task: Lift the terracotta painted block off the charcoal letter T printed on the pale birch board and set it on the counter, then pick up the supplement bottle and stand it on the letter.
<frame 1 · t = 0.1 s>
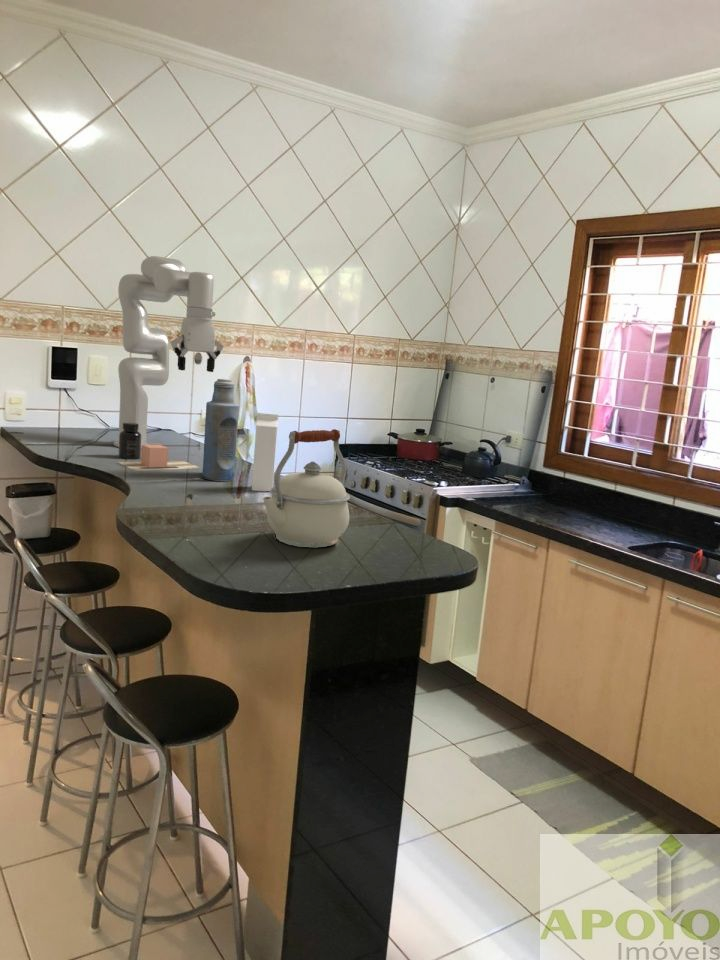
hand: (195, 370, 236), 31 cm above the table, tool pointing down, fingers open, 9 cm apart
milk: (262, 489, 223), on the table
kettle: (301, 542, 171), on the table
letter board: (159, 467, 240), on the table
terracotta block: (153, 465, 239), point 1 cm above the table, touching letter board
bottle: (218, 479, 232), on the table
supplement bottle: (129, 460, 248), on the table
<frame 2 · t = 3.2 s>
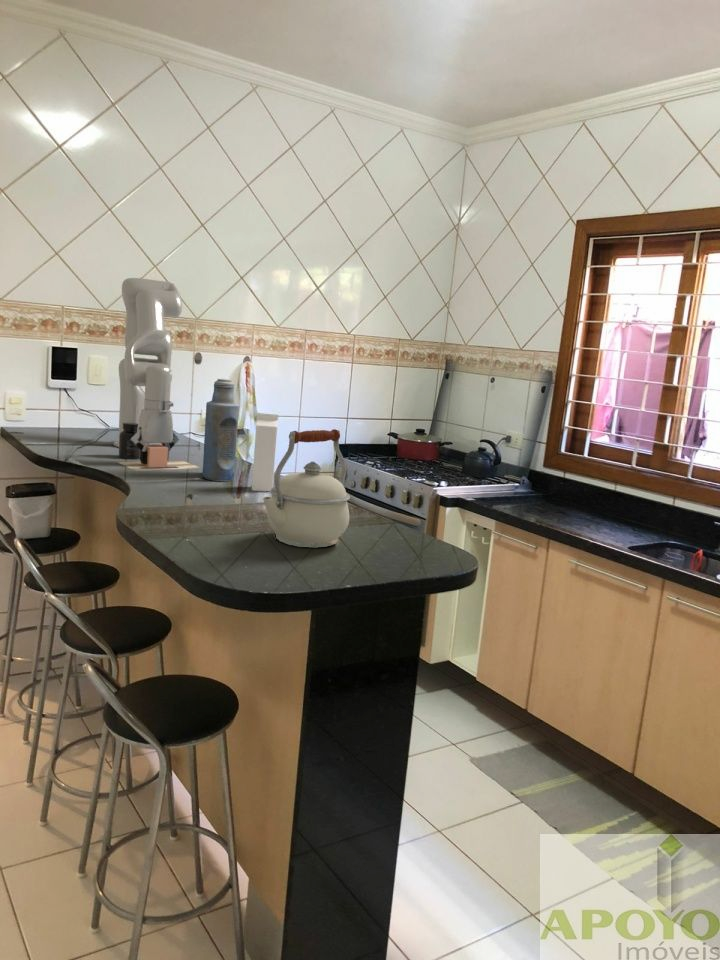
hand: (154, 462, 239), 2 cm above the table, tool pointing down, fingers closed on terracotta block, 6 cm apart
terracotta block: (153, 465, 239), point 1 cm above the table, touching gripper, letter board
everything else where it was.
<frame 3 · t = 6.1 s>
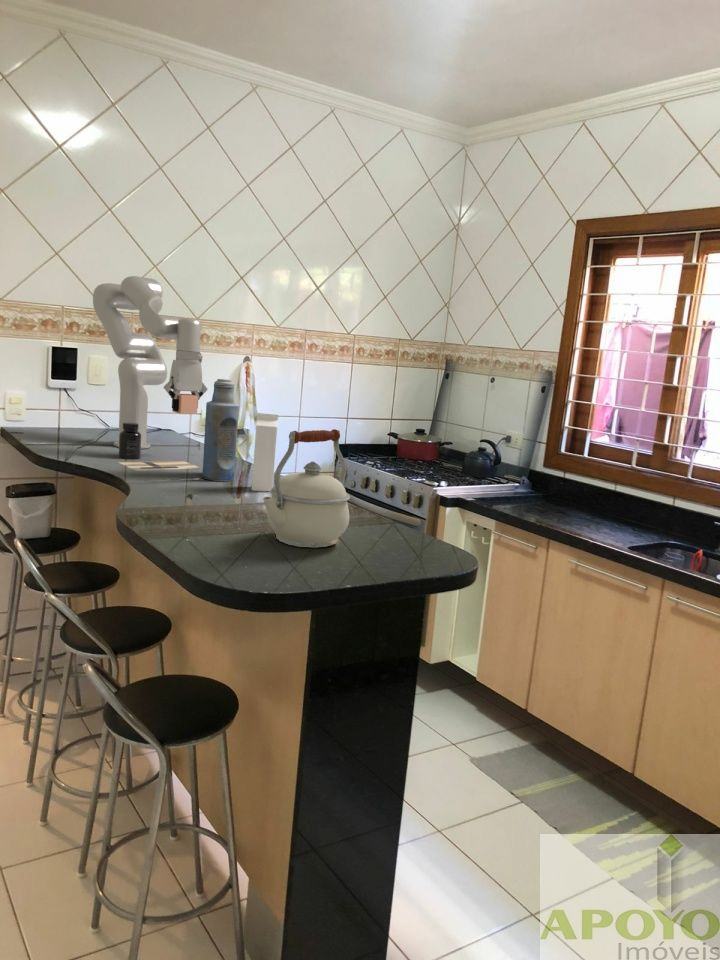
hand: (184, 410, 256), 17 cm above the table, tool pointing down, fingers closed on terracotta block, 6 cm apart
terracotta block: (184, 412, 256), point 16 cm above the table, touching gripper
everything else where it was.
when the fingers open (2 cm above the table, at t = 9.1 s): terracotta block drops 2 cm, on the table.
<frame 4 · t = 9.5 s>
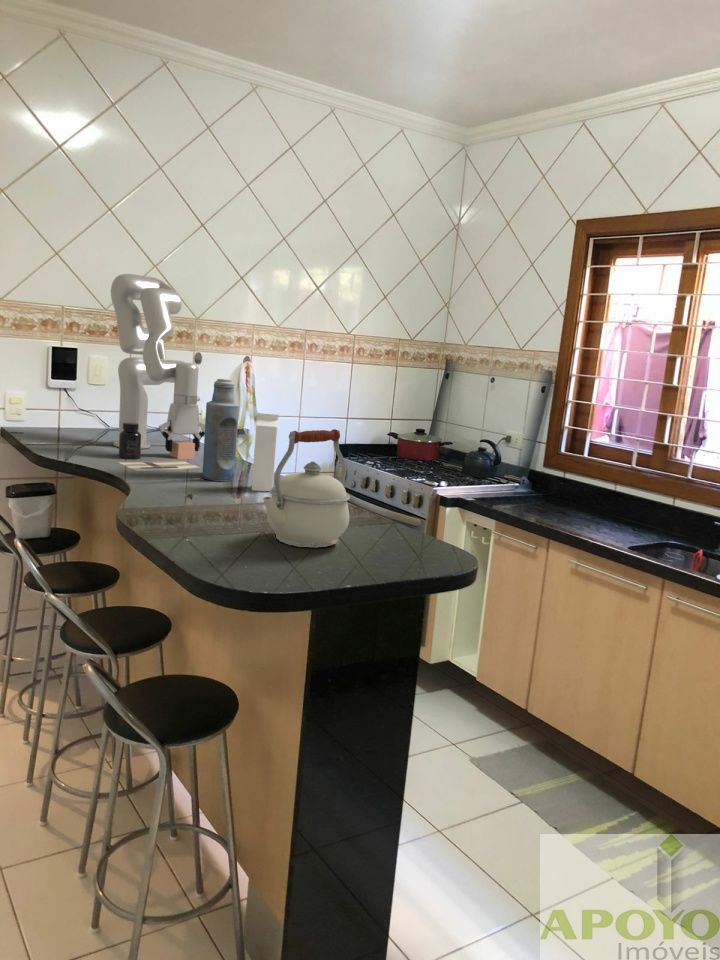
hand: (182, 450, 258), 3 cm above the table, tool pointing down, fingers open, 9 cm apart
terracotta block: (181, 459, 259), on the table
everything else where it was.
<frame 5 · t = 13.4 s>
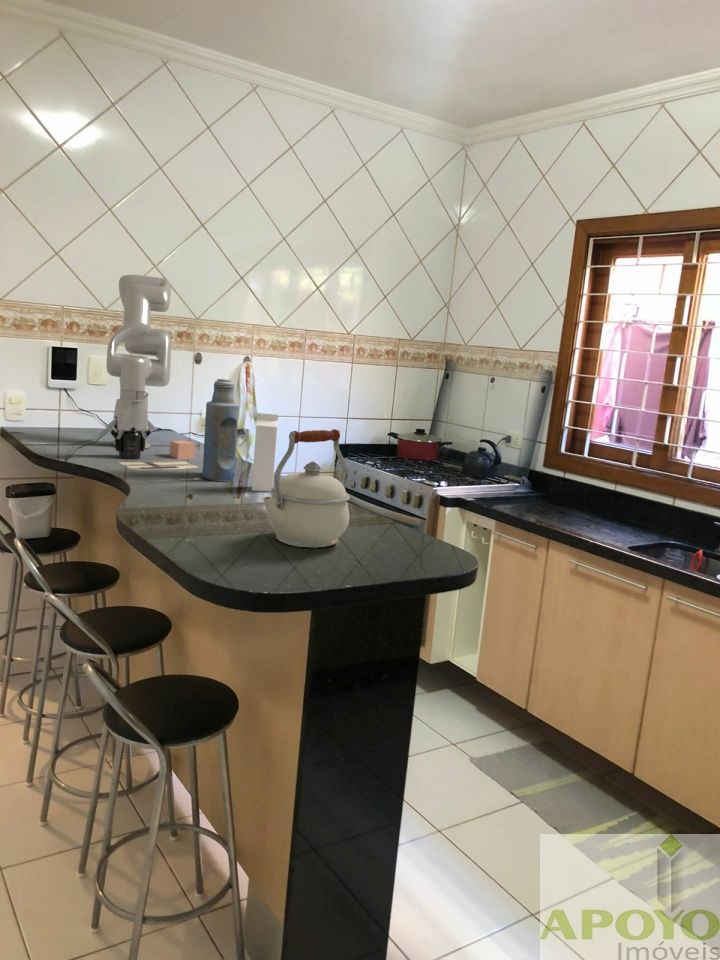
hand: (129, 450, 247), 3 cm above the table, tool pointing down, fingers closed on supplement bottle, 6 cm apart
supplement bottle: (129, 460, 248), on the table, touching gripper
everything else where it was.
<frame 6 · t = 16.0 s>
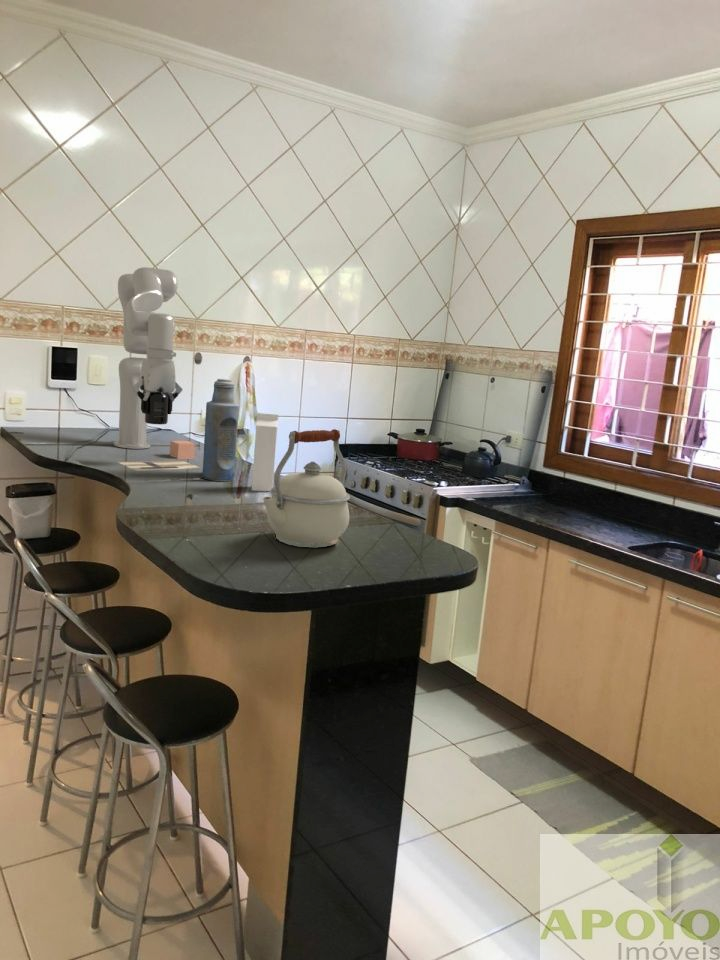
hand: (156, 413, 236), 17 cm above the table, tool pointing down, fingers closed on supplement bottle, 6 cm apart
supplement bottle: (156, 423, 237), point 14 cm above the table, touching gripper
everything else where it was.
when the fingers open (5 cm above the table, at t = 18.6 s): supplement bottle drops 1 cm, resting on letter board.
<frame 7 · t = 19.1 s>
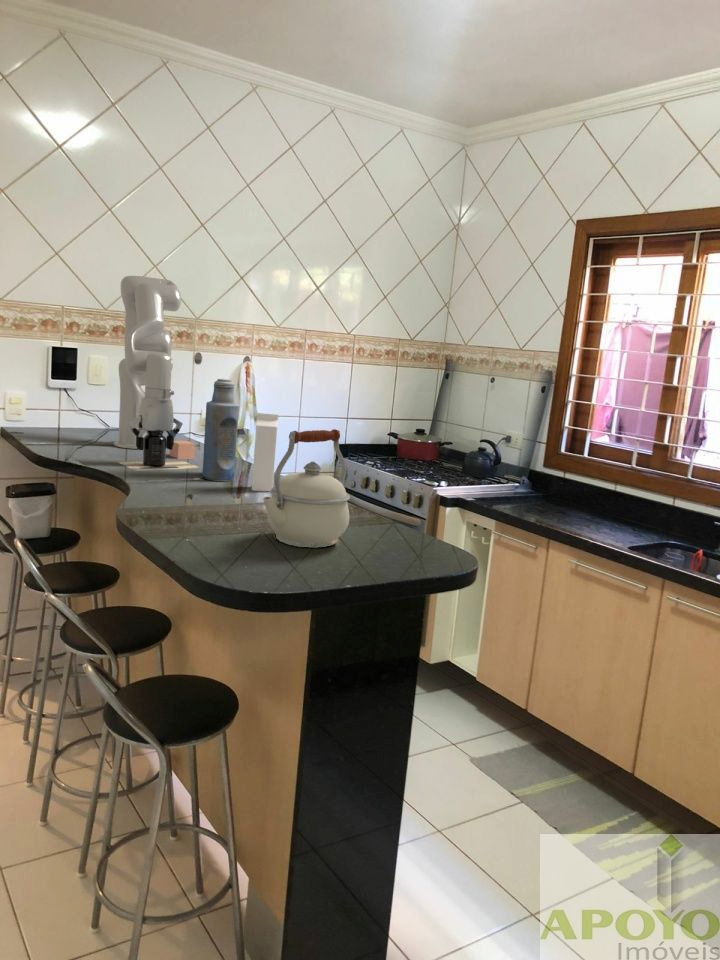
hand: (154, 449, 238), 6 cm above the table, tool pointing down, fingers open, 9 cm apart
supplement bottle: (153, 465, 239), point 1 cm above the table, touching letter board
everything else where it was.
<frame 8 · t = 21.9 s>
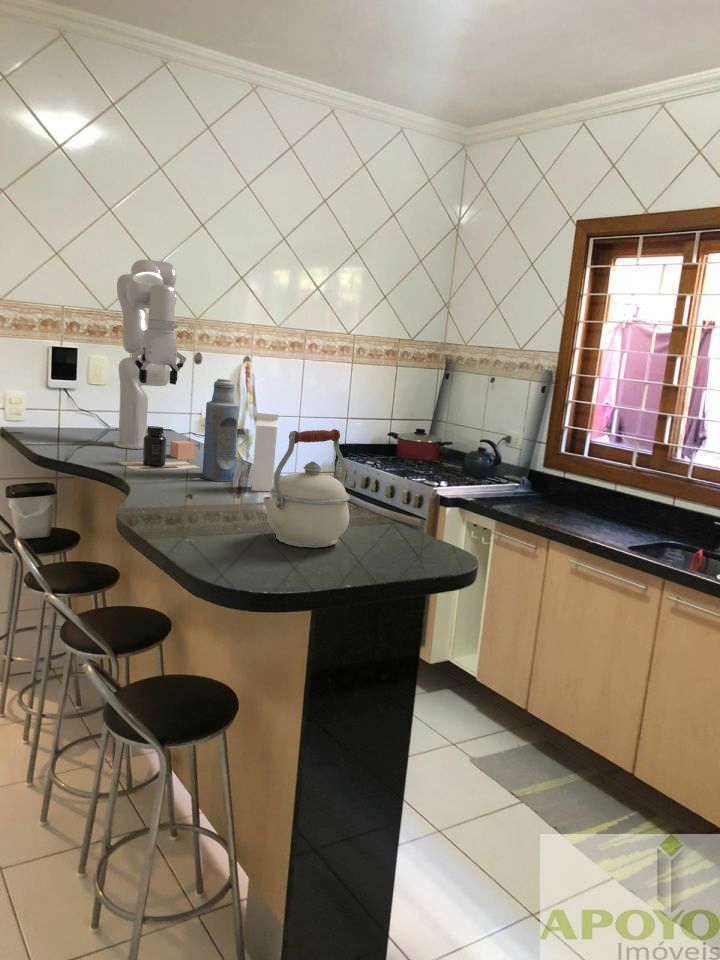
hand: (158, 383, 234), 26 cm above the table, tool pointing down, fingers open, 9 cm apart
nothing on the table moved.
at the end: supplement bottle inside the target area on the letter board (0.1 cm from its centre), point 0.6 cm above the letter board's base; supplement bottle tilted 0°; terracotta block inside the target area (0.5 cm from its centre), on the table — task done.
